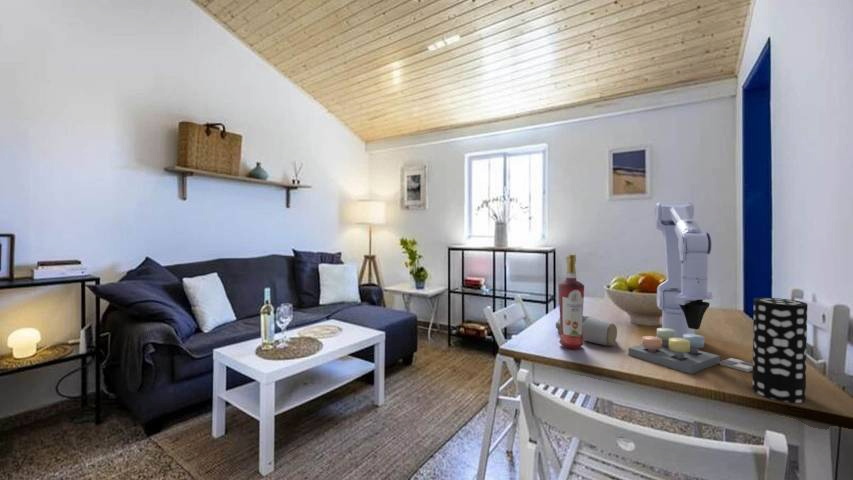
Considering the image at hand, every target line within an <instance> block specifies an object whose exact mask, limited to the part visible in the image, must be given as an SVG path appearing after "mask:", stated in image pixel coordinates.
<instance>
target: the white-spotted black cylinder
mask: <svg viewBox="0 0 853 480" xmlns="http://www.w3.org/2000/svg"><path fill="white" fill-rule="evenodd" d="M808 306H809V305H808V303H807V302H804V301H799V300H794V299H787V298H777V297H776V298H775V297H754V298H753V317H752V318H753V320H752V321H753V325H752V330H753V331H752V332H753V333H752V363H753V370H752V382H751V383H752V385H751V386H752V391H753V392H755V393H756V394H758V395H760V396H763V397H765V398H767V399H770V400H775V401H779V402H785V403H792V404H793V403H795V404H799V403H805V402H806V400H807V397H806V395H807V393H806V392H807V391H806V390H807V351H808V350H807V346H808V344H807V343H808Z"/></svg>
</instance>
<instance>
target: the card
mask: <svg viewBox="0 0 853 480" xmlns="http://www.w3.org/2000/svg"><path fill="white" fill-rule="evenodd" d="M719 365H720V366H723V367H728V368H731V369H734V370H739V371H742V372H745V373H746V372H747V373H750V372H753V362H749V361H744V360H741V359H736V358H733V357H729V358H727V359H725V360H722V361H719Z"/></svg>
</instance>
